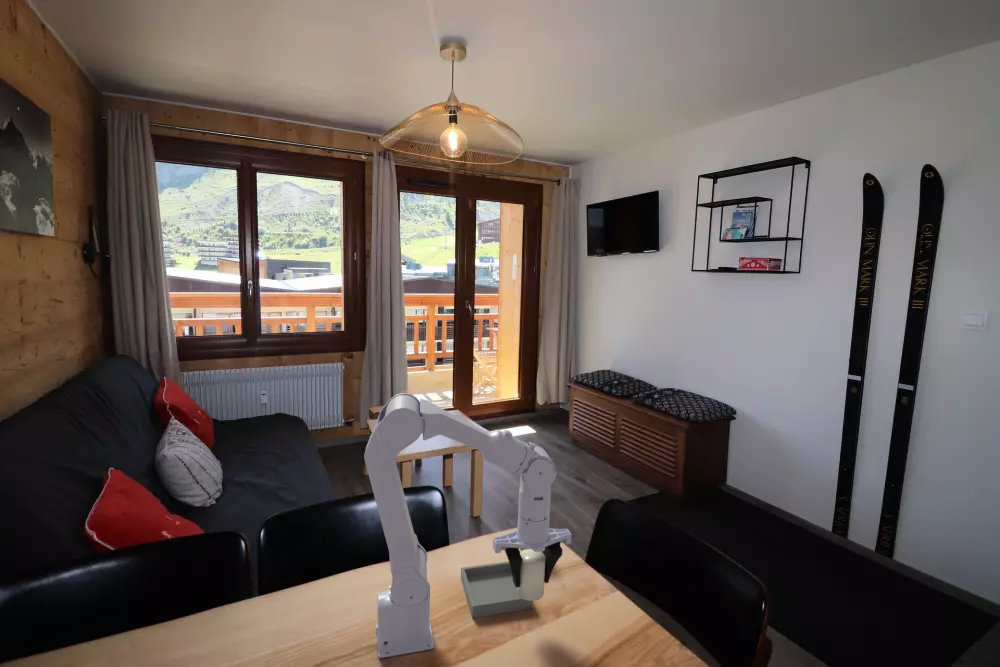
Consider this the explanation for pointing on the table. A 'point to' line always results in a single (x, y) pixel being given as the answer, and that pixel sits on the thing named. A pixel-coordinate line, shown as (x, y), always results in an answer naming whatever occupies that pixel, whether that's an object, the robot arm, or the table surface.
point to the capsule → (531, 575)
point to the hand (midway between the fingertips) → (530, 581)
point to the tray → (491, 590)
